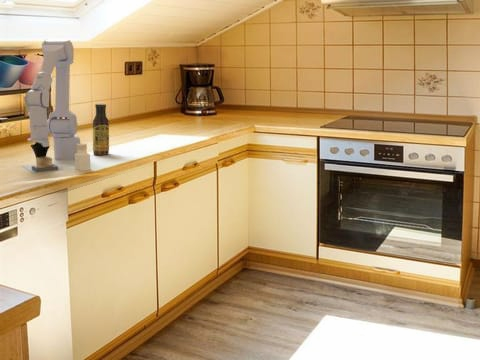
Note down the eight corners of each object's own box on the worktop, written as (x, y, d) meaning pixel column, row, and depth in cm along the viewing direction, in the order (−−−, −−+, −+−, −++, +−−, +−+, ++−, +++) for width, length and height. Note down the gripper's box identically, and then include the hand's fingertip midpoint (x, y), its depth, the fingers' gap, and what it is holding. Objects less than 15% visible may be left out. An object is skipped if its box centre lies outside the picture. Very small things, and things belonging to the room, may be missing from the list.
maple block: (48, 167, 217) (47, 156, 216) (52, 169, 213) (51, 158, 212) (36, 168, 215) (36, 157, 214) (40, 171, 211) (40, 159, 210)
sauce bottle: (94, 156, 243) (92, 105, 239) (91, 153, 248) (89, 103, 244) (111, 155, 245) (109, 104, 241) (108, 152, 251) (106, 102, 247)
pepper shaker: (81, 173, 212) (80, 145, 210) (74, 171, 214) (73, 144, 212) (91, 171, 215) (90, 144, 213) (84, 170, 217) (83, 142, 215)
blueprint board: (49, 165, 225) (49, 159, 225) (63, 172, 213) (63, 166, 213) (21, 168, 220) (21, 162, 219) (34, 175, 208) (33, 169, 207)
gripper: (20, 123, 217) (23, 162, 220) (33, 128, 205) (35, 169, 208) (41, 122, 221) (43, 160, 224) (54, 127, 209) (56, 167, 212)
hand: (41, 164), depth 216 cm, fingers closed
